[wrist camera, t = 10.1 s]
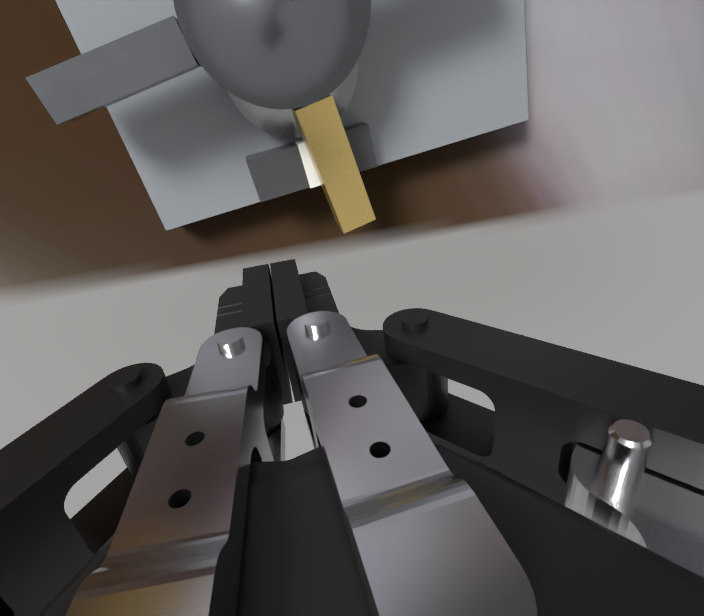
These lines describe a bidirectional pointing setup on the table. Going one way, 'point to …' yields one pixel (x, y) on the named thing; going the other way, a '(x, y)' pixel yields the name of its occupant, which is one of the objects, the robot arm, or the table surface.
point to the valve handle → (242, 76)
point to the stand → (358, 118)
